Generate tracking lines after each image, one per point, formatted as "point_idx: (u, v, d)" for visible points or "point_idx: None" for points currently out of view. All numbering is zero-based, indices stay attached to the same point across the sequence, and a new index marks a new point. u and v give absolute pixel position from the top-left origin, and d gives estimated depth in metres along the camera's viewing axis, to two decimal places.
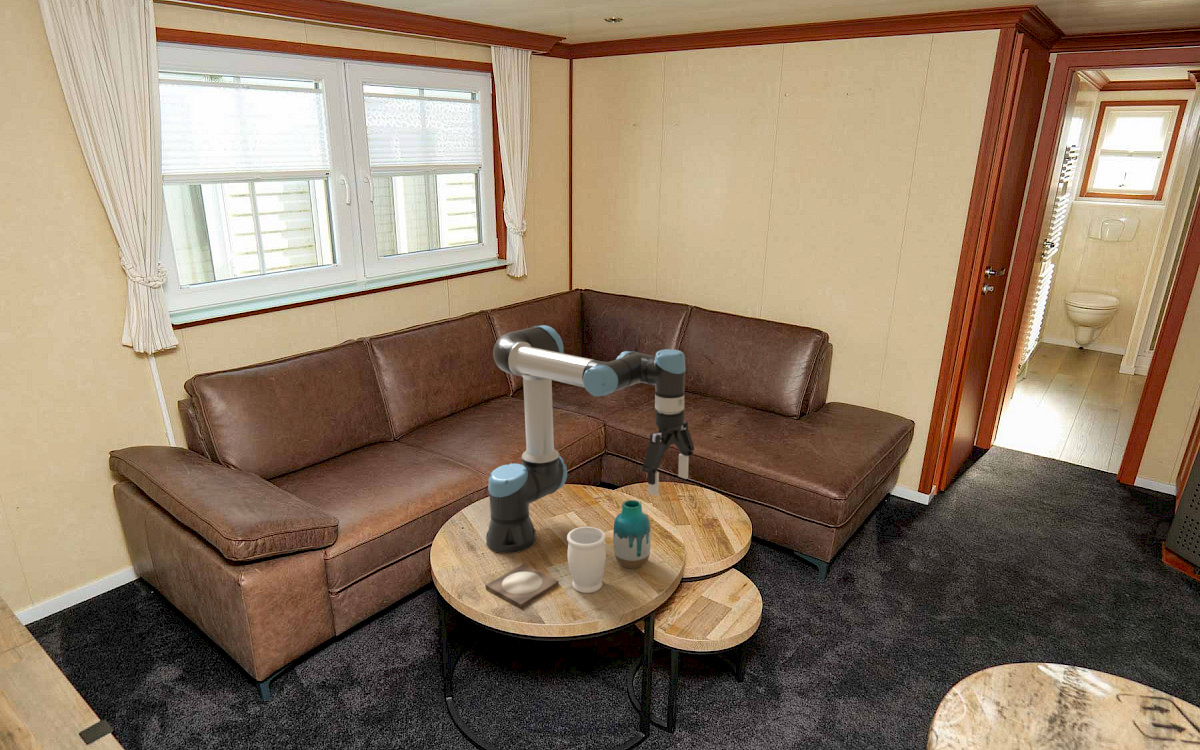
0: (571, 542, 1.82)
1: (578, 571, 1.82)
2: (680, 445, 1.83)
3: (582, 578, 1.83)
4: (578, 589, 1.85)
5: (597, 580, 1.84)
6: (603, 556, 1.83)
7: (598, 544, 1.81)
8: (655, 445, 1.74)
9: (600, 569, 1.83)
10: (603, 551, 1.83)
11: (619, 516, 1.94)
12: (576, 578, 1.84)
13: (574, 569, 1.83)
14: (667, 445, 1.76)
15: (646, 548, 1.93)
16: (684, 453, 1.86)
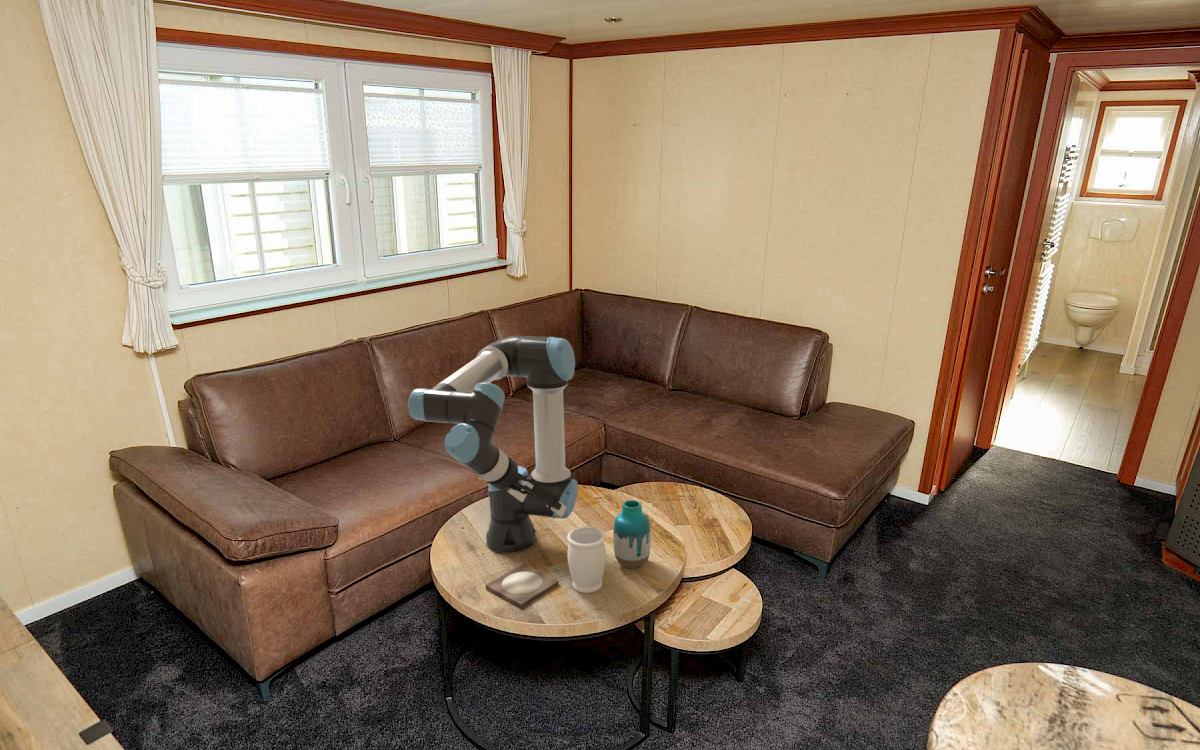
0: (571, 542, 1.82)
1: (578, 571, 1.82)
2: None
3: (582, 578, 1.83)
4: (578, 589, 1.85)
5: (597, 580, 1.84)
6: (603, 556, 1.83)
7: (598, 544, 1.81)
8: None
9: (600, 569, 1.83)
10: (603, 551, 1.83)
11: (619, 516, 1.94)
12: (576, 578, 1.84)
13: (574, 569, 1.83)
14: None
15: (646, 549, 1.93)
16: None
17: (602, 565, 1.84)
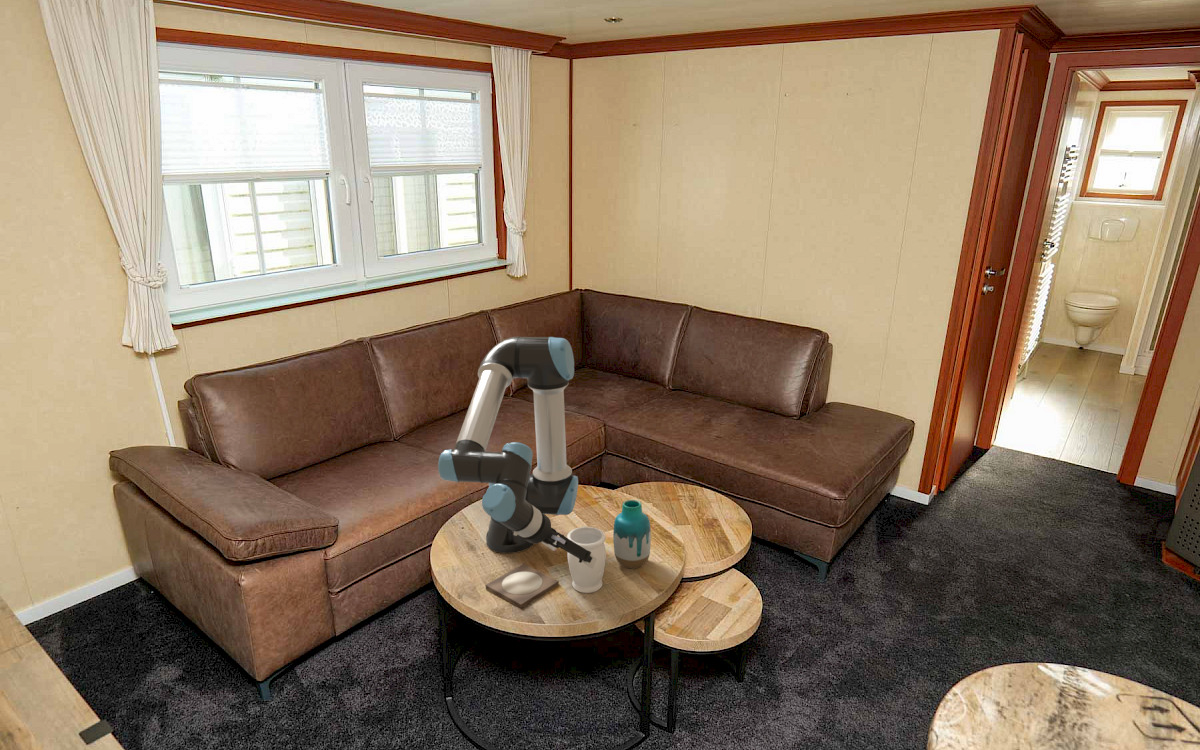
0: None
1: (578, 571, 1.82)
2: None
3: (582, 578, 1.83)
4: (578, 589, 1.85)
5: (597, 580, 1.84)
6: (603, 556, 1.83)
7: (598, 544, 1.81)
8: None
9: (600, 569, 1.83)
10: (603, 551, 1.83)
11: (619, 516, 1.94)
12: (576, 578, 1.84)
13: (574, 569, 1.83)
14: None
15: (646, 548, 1.93)
16: None
17: (602, 565, 1.84)
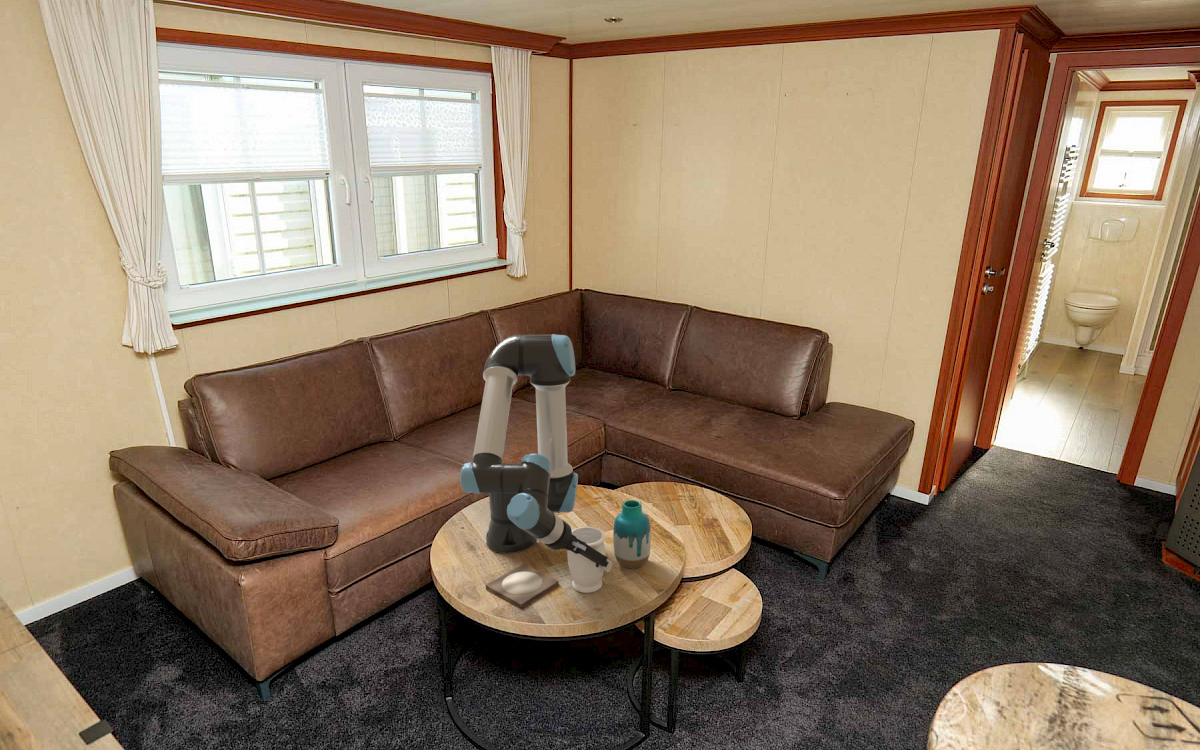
0: None
1: (578, 571, 1.82)
2: None
3: (582, 578, 1.83)
4: (578, 589, 1.85)
5: (597, 580, 1.84)
6: None
7: (598, 544, 1.81)
8: None
9: (600, 569, 1.83)
10: (603, 551, 1.83)
11: (619, 516, 1.94)
12: (576, 578, 1.84)
13: (574, 569, 1.83)
14: None
15: (646, 548, 1.93)
16: None
17: None
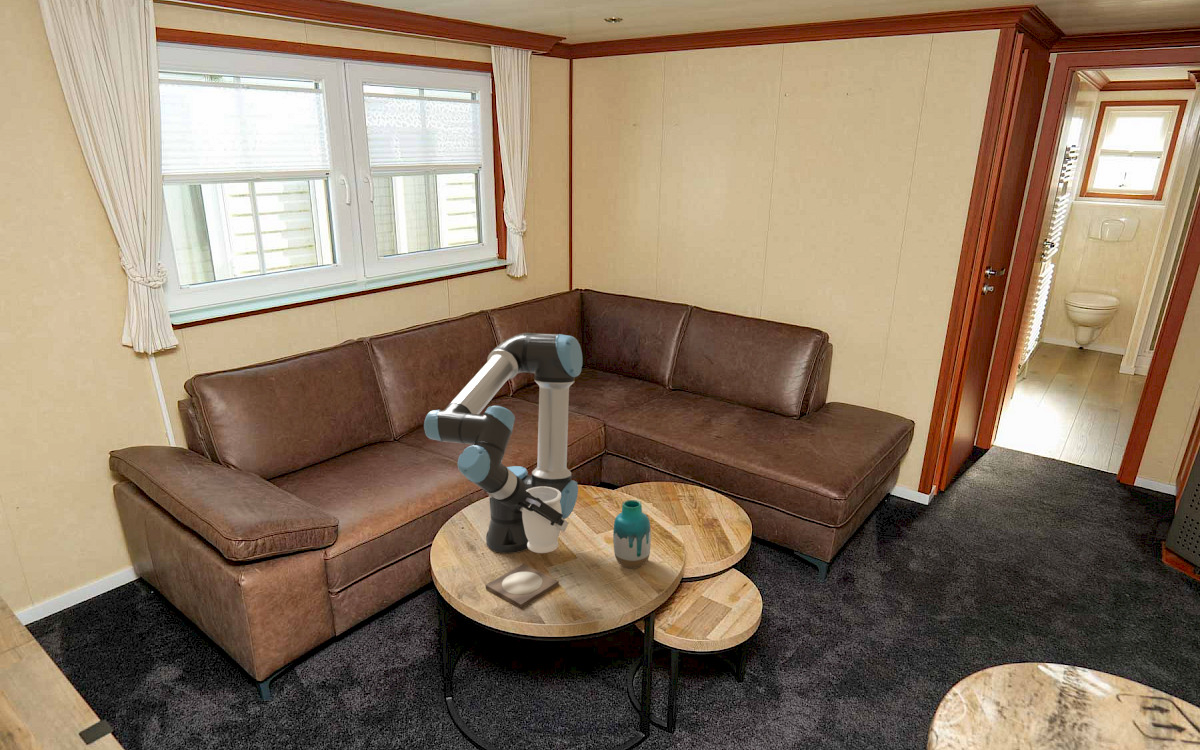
0: None
1: (533, 530, 1.78)
2: None
3: (537, 537, 1.78)
4: (533, 549, 1.81)
5: (552, 540, 1.80)
6: None
7: (553, 502, 1.77)
8: None
9: (555, 528, 1.79)
10: (559, 510, 1.79)
11: (619, 516, 1.94)
12: (531, 538, 1.79)
13: (528, 528, 1.78)
14: None
15: (646, 548, 1.93)
16: None
17: None
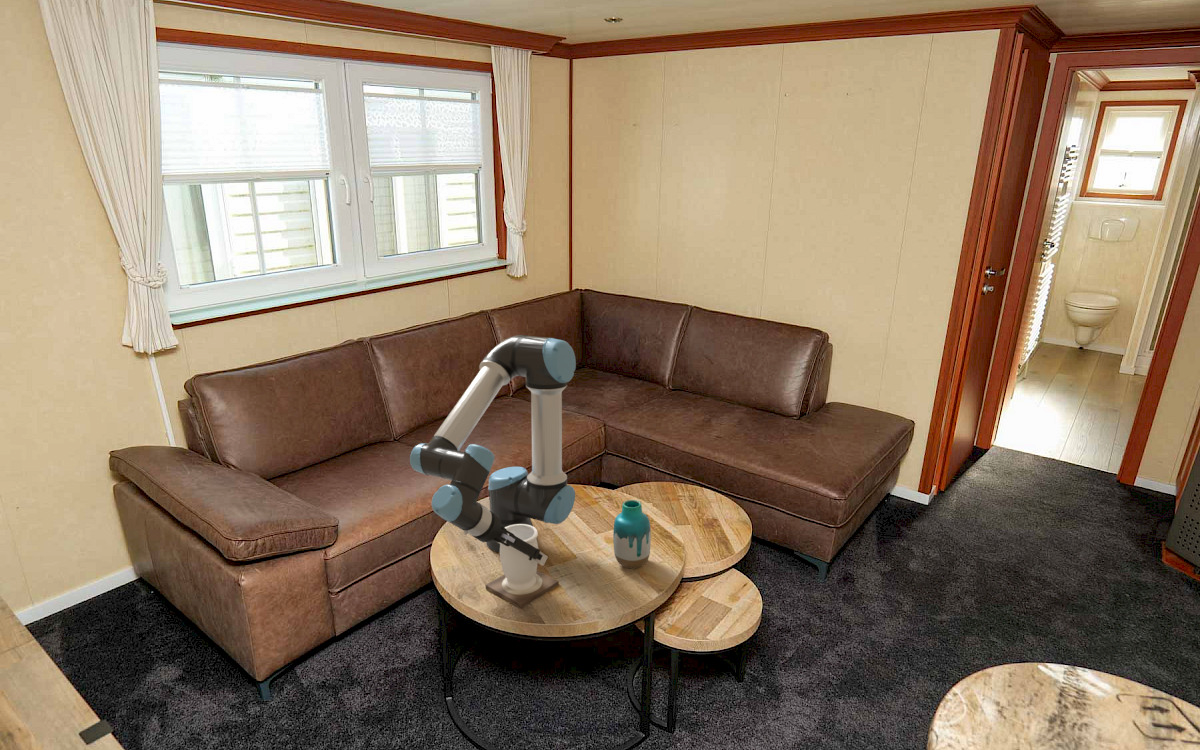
0: None
1: (509, 568, 1.81)
2: None
3: (514, 575, 1.82)
4: (510, 586, 1.84)
5: (529, 577, 1.84)
6: None
7: (529, 541, 1.80)
8: None
9: (532, 566, 1.83)
10: None
11: (619, 516, 1.94)
12: (508, 575, 1.83)
13: (505, 566, 1.82)
14: None
15: (646, 549, 1.93)
16: None
17: (534, 562, 1.83)
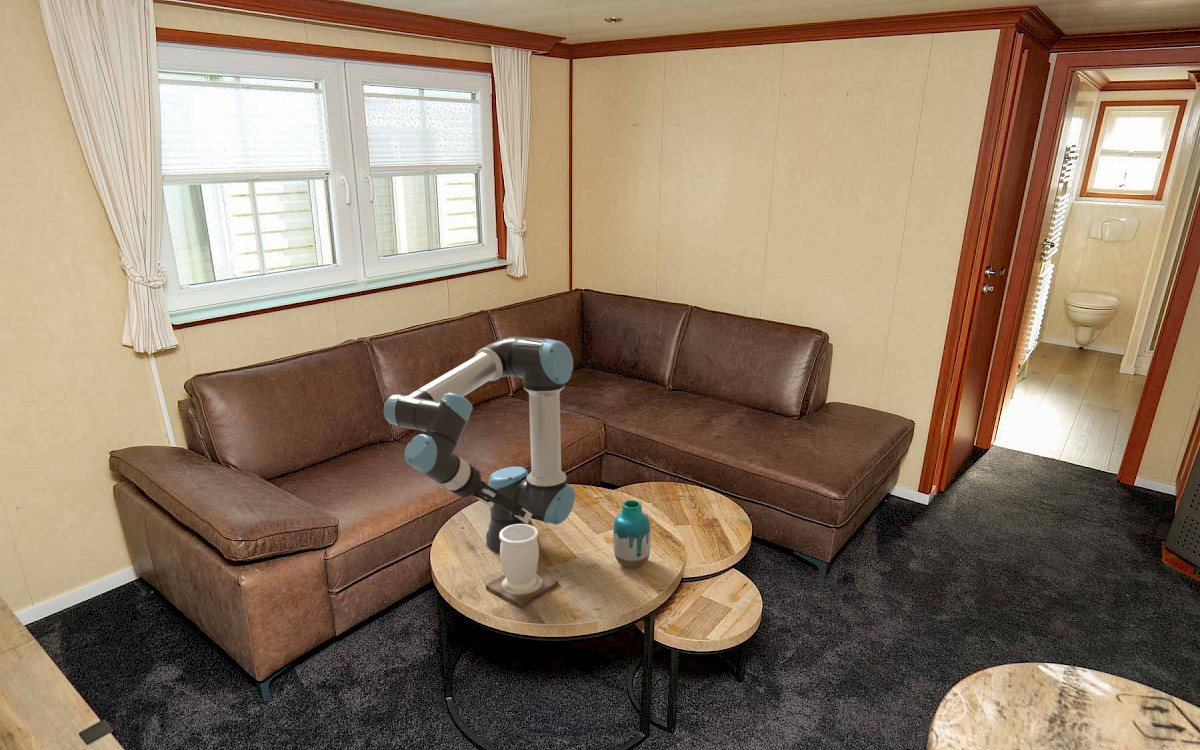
0: (502, 539, 1.81)
1: (510, 568, 1.81)
2: None
3: (514, 575, 1.82)
4: (510, 586, 1.84)
5: (529, 577, 1.84)
6: (535, 553, 1.82)
7: (529, 541, 1.80)
8: None
9: (532, 566, 1.83)
10: (535, 548, 1.83)
11: (619, 516, 1.94)
12: (508, 575, 1.83)
13: (505, 566, 1.82)
14: None
15: (646, 548, 1.93)
16: None
17: (534, 562, 1.83)
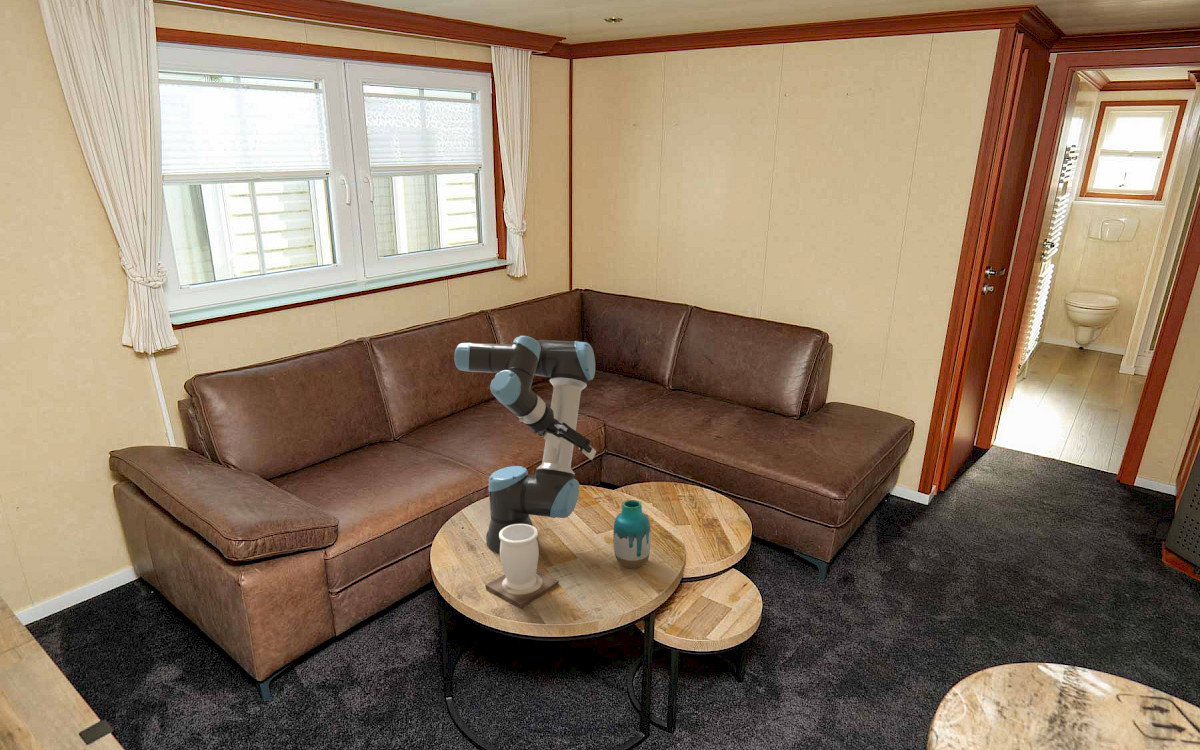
0: (502, 539, 1.81)
1: (509, 568, 1.81)
2: None
3: (513, 575, 1.82)
4: (510, 586, 1.84)
5: (529, 577, 1.84)
6: (534, 553, 1.83)
7: (529, 541, 1.80)
8: None
9: (532, 566, 1.83)
10: (535, 548, 1.83)
11: (619, 516, 1.94)
12: (508, 575, 1.83)
13: (505, 566, 1.82)
14: (539, 430, 1.86)
15: (646, 548, 1.93)
16: None
17: (534, 562, 1.83)
